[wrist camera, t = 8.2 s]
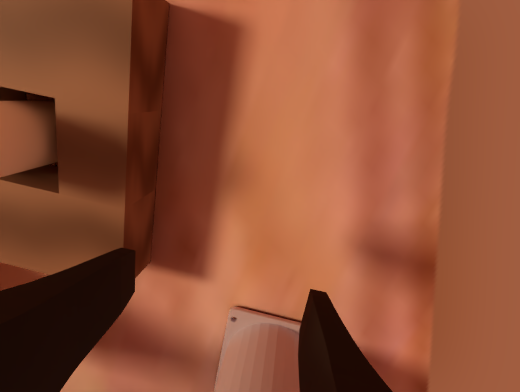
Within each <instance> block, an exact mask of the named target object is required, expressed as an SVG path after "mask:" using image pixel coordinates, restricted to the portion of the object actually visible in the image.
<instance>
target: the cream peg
mask: <svg viewBox="0 0 520 392" xmlns="http://www.w3.org/2000/svg"><path fill="white" fill-rule="evenodd" d="M56 162H58V157H57V135H56V112H55V100H28V101H0V177H4V176H8V175H11V174H15V173H19V172H23V171H26V170H30V169H34V168H37V167H41V166H45V165H49V164H52V163H56Z"/></svg>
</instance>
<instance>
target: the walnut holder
mask: <svg viewBox="0 0 520 392" xmlns="http://www.w3.org/2000/svg"><path fill="white" fill-rule="evenodd" d="M168 17H169V3H168V2H167V1H165V0H0V101H26V96H25V92H29V93H34V94H38V95H43V96H48V97H52V98H55V112H56V135H57V157H58V167H56V166H52V165H45V166H41V167H37V168H34V169H30V170H26V171H23V172H19V173H15V174H11V175H8V176H4V177H0V263H4V264H8V265H12V266H16V267H20V268H24V269H28V270H32V271H36V272H40V273H44V274H48V275H52V274H55V273H57V272H60V271H63V270H65V269H68V268H71V267H73V266H76V265H78V264H81V263H83V262H85V261H88V260H90V259H93V258H95V257H98V256H100V255H103V254H105V253H108V252H110V251H113V250H115V249H118V248H121V247H122V248H126V249H131V250H135V251H136V254H135V278H136V277H137V276H138V275H139V274H140V272H141V271H142V270H143V269H144V268H145V267H146V266H147V265H148V264H149V263H150V259H151V245H152V232H153V218H154V205H155V191H156V178H157V165H158V151H159V138H160V124H161V111H162V97H163V84H164V70H165V57H166V44H167V30H168Z"/></svg>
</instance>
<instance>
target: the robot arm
mask: <svg viewBox="0 0 520 392" xmlns="http://www.w3.org/2000/svg"><path fill="white" fill-rule="evenodd" d="M135 254H136V251H135V250H131V249H126V248H122V247H121V248H118V249H115V250H113V251H110V252H108V253H105V254H103V255H100V256H98V257H95V258H93V259H90V260H88V261H85V262H83V263H81V264H78V265H76V266H73V267H71V268H68V269H65V270H63V271H60V272H57V273H55V274H52V275H49V276H46V277H44V278H41V279H38V280H35V281H32V282H29V283H26V284H23V285H19V286H16V287H13V288H9V289H6V290H2V291H0V392H60V390H61V389H62V388H63V386H64V385H65V383H66V382H67V380H68V379H69V377H70V376H71V375H72V373H73V372H74V371H75V369H76V368H77V367H78V365H79V364H80V363H81V362H82V360H83V359H84V358H85V357H86V356H87V354H88V353H89V352H90V351H91V350H92V348H93V347H94V346H95V345H96V344H97V342H98V341H99V340H100V339H101V337H102V336H103V335H104V334H105V333H106V331H107V330H108V329H109V328H110V327H111V325H112V324H113V323H114V322H115V320H116V319H117V318H118V317H119V315H120V314H121V313H122V311H123V310H124V308H125V307H126V305H127V304H128V302H129V300H130V299H131V297H132V295H133V294H134V292H135ZM232 317H235V318H237V319H234V318H232ZM214 392H392V390H391V389H390V388H389V387H388V386H387V385H386V383H385V382H384V381H383V380H382V379H381V377H380V376H379V375H378V374H377V372H376V371H375V370H374V369H373V367H372V366H371V365H370V363H369V362H368V361H367V359H366V358H365V357H364V355H363V354H362V352H361V351H360V349H359V348H358V346H357V345H356V343H355V342H354V340H353V339H352V337H351V335H350V334H349V332H348V330H347V329H346V327H345V326H344V324H343V322H342V320H341V319H340V317H339V315H338V313H337V311H336V310H335V308H334V306H333V304H332V302H331V300H330V298H329V297H328V295H327V293H326V292H322V291H317V290H313V289H310V292H309V296H308V300H307V303H306V307H305V311H304V315H303V318H302V322H301V323H300V322H296V321H292V320H288V319H284V318H280V317H276V316H272V315H268V314H264V313H260V312H256V311H252V310H248V309H244V308H240V307H232V308H230V311H229V315H228V320H227V325H226V330H225V335H224V340H223V346H222V351H221V356H220V361H219V366H218V371H217V376H216V382H215V387H214Z"/></svg>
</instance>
